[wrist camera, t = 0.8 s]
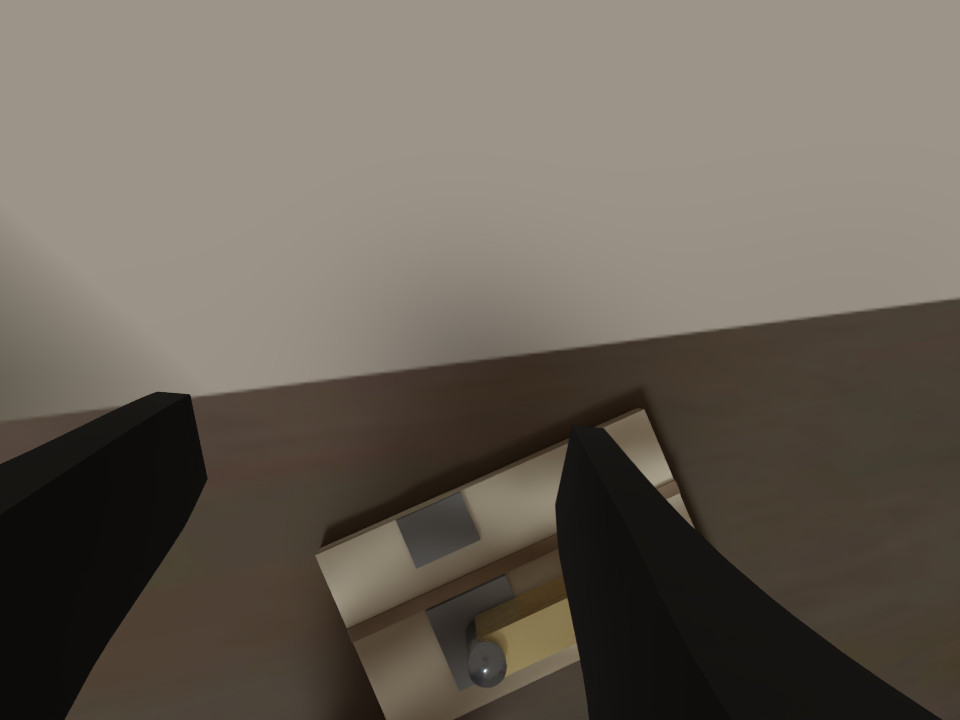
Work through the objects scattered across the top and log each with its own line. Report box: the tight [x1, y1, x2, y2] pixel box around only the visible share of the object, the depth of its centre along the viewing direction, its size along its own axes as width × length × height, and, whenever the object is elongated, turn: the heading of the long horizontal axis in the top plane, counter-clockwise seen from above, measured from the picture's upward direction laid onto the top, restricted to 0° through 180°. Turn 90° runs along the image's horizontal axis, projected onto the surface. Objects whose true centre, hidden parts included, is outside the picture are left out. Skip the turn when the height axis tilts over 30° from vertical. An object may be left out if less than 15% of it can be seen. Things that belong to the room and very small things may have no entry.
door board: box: [315, 408, 694, 720], centre depth 31 cm, size 12×21×2 cm, turn 113°
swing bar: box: [465, 576, 576, 688], centre depth 29 cm, size 10×2×3 cm, turn 113°
